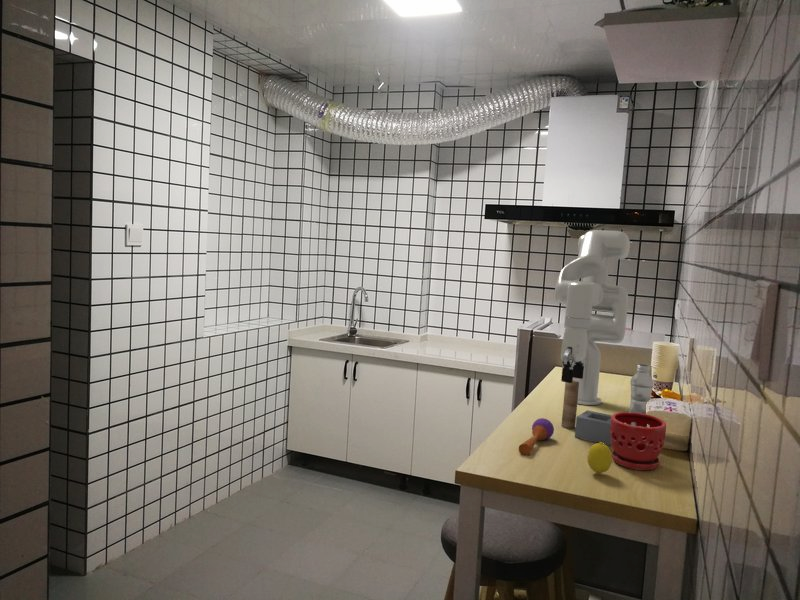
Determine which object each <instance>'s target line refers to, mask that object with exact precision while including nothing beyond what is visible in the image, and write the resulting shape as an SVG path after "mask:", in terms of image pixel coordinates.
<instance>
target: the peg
mask: <svg viewBox="0 0 800 600" xmlns="http://www.w3.org/2000/svg"><path fill="white" fill-rule="evenodd" d="M564 383H565V384H564V393H563V394H564V395H563V405H562V415H561V417H562V418H561V427H562V428H563V429H564V428H565V429H569V430H573V429H576V418H577V412H578V411H577V410H578V409H577V408H578V404H577V401H578V390H579V382H578V381H574V380H573V382H572V383H567V382H564Z"/></svg>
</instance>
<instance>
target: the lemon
mask: <svg viewBox="0 0 800 600" xmlns="http://www.w3.org/2000/svg"><path fill="white" fill-rule="evenodd" d="M611 452H612V450H611V449H610V447H609V445H606V444H603V442H599V443H597V442H595V443H594V444H593V445H591V447H590V448H589V450H588V452H587V453H588V454H587V463H588V464H587V465H588V466H589V468H590V469H591V470H592V471H593V472H595V474H596V475H598V474H599V475H601V474H603V473H605V472H607V471H609V469H610V468H611V466H612V461H613V458H612V455H611Z"/></svg>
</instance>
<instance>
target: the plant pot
mask: <svg viewBox="0 0 800 600" xmlns="http://www.w3.org/2000/svg"><path fill="white" fill-rule="evenodd" d="M611 415H612V416H611V424H610V434H611V443H612V444H611V446H612V448H613V450H611V455H612V461H614V462H615V463H616V464H618V465H621V466H622V467H625V468H627V469H632V470H637V471H651V470H653V469H656V468H657V467H658V466H659V465H660V462H661V461H660V459H659V456H660V454H661V452H662V450H663V448H664V445H665V439H666V432H667V423H666V422H665V421H664V420H663V419H662V418H659V417H657V416H654V415H650V414H649V415H647V414H642V413H634V412H629V411H627V412H626V411H622V412H621V411H620V412H617V413H614V414H611ZM632 422H635V423H636V426H633V425H631V423H632ZM647 424H648V425H649V427H647ZM640 426H642V427H640Z"/></svg>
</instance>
